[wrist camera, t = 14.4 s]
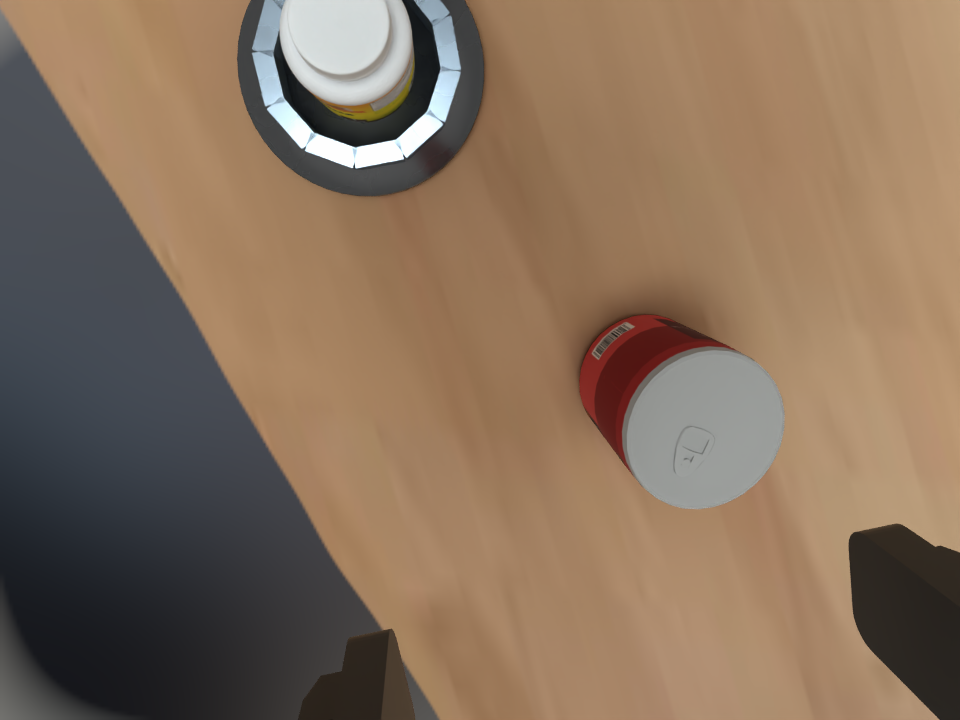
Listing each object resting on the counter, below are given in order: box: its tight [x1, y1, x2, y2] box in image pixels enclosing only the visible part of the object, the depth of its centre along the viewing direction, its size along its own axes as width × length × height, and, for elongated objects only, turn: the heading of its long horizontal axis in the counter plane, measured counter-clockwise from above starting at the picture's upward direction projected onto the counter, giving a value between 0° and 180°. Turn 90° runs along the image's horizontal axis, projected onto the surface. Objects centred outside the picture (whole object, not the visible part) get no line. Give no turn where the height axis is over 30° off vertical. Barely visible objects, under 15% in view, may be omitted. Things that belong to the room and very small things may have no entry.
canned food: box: [579, 315, 784, 509], centre depth 37 cm, size 8×8×11 cm
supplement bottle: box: [279, 0, 415, 123], centre depth 31 cm, size 6×6×10 cm
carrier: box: [237, 0, 484, 196], centre depth 36 cm, size 13×13×4 cm
